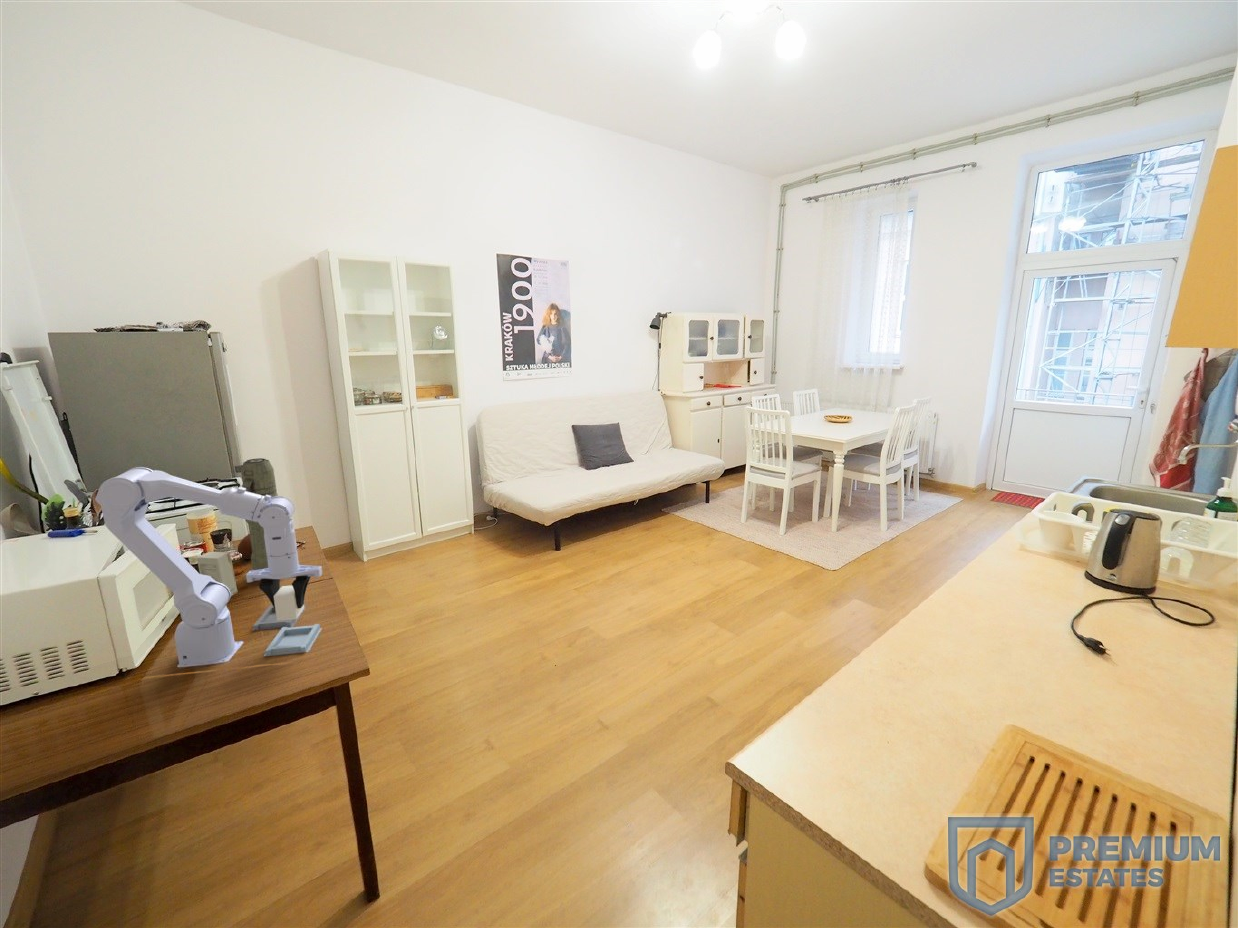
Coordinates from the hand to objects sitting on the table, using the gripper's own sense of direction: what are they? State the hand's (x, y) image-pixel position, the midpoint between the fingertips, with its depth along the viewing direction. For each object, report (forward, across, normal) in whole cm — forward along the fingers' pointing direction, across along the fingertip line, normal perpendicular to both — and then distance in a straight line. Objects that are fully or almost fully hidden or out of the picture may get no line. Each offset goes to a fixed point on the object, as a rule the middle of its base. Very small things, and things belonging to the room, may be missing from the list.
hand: (289, 607), depth 118 cm
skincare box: (+9, +27, -28) cm, 40 cm away
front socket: (+9, 0, 0) cm, 9 cm away
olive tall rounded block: (+9, +19, -40) cm, 45 cm away
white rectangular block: (+2, 0, 0) cm, 2 cm away
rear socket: (+9, +7, -12) cm, 17 cm away
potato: (+10, +29, -56) cm, 64 cm away
